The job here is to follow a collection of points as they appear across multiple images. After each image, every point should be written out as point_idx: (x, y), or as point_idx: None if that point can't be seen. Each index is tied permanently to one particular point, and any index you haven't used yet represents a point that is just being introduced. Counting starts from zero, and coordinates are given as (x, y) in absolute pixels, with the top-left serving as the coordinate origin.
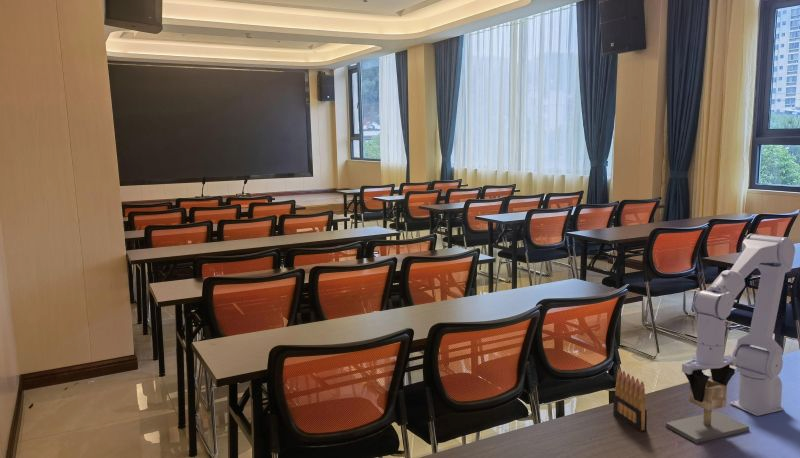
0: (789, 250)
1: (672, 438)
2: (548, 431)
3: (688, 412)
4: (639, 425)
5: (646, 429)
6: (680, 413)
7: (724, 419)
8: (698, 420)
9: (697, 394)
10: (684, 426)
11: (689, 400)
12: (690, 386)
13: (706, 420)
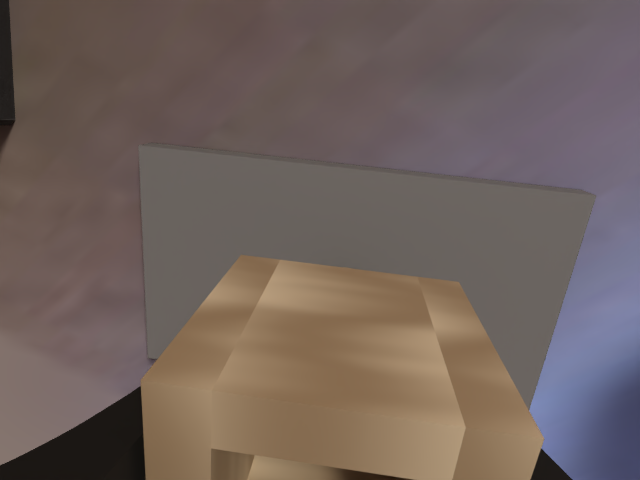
0: None
1: (89, 257)
2: None
3: (460, 59)
4: None
5: (6, 123)
6: (395, 42)
7: (504, 295)
8: (348, 226)
9: None
10: (202, 238)
11: (239, 257)
12: (178, 340)
13: None
